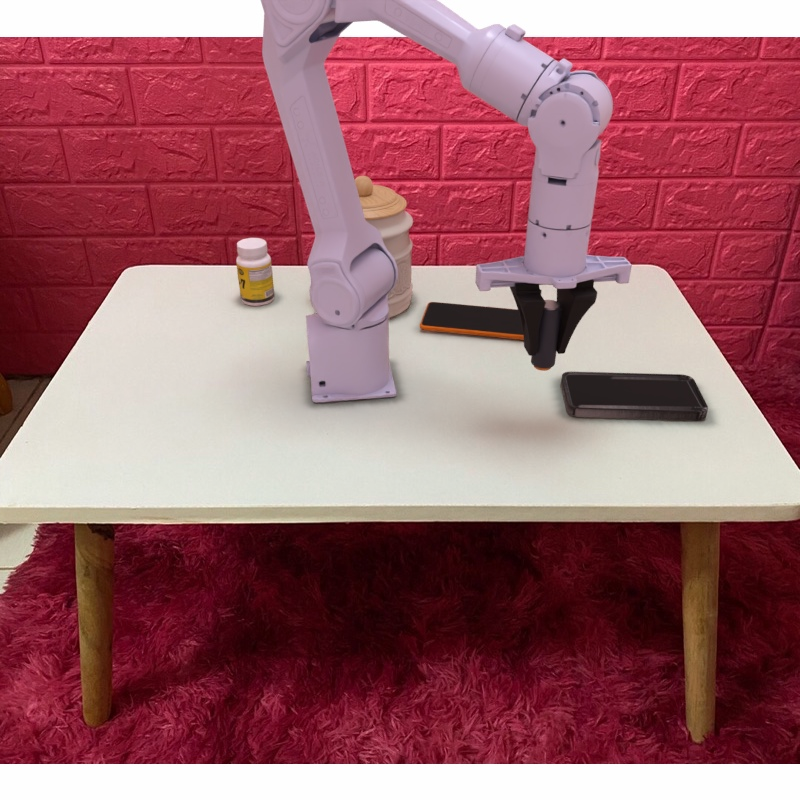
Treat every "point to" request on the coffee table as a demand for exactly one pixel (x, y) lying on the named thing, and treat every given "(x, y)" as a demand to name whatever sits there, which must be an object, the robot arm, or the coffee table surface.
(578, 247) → the robot arm
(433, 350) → the coffee table surface
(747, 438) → the coffee table surface
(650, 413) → the phone
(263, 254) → the supplement bottle
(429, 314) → the smartphone
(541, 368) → the lipstick
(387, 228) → the jar
